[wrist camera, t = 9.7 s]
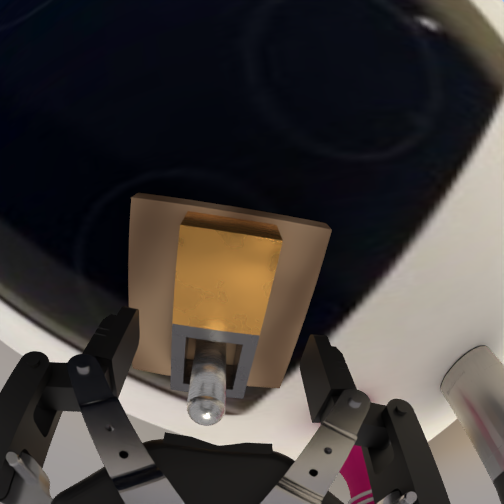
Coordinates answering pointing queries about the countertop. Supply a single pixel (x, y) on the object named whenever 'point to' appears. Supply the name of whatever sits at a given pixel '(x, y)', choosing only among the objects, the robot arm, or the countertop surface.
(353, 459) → the pepper mill
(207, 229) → the link
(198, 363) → the post
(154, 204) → the board
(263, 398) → the countertop surface
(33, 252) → the countertop surface
